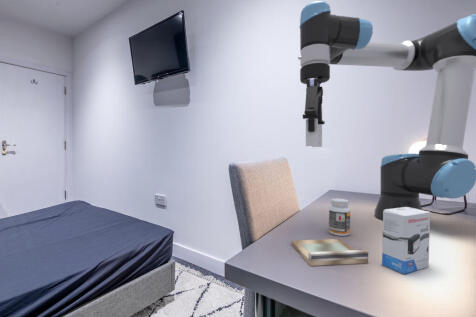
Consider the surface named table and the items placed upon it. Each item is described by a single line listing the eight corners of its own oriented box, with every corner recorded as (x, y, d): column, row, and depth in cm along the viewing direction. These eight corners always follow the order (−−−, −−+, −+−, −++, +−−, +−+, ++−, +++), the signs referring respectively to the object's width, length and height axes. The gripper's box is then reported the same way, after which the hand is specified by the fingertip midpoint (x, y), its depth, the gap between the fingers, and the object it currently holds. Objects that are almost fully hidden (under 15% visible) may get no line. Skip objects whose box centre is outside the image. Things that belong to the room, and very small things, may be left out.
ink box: (404, 275, 48) (405, 215, 47) (380, 264, 52) (381, 209, 52) (430, 267, 51) (432, 211, 51) (406, 257, 55) (407, 206, 55)
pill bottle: (352, 237, 69) (352, 202, 68) (330, 235, 70) (331, 201, 70) (347, 231, 74) (347, 198, 74) (327, 229, 75) (327, 197, 75)
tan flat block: (338, 242, 65) (338, 233, 65) (368, 263, 53) (368, 251, 52) (291, 244, 63) (291, 234, 63) (310, 266, 51) (310, 254, 51)
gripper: (306, 80, 78) (306, 147, 78) (291, 51, 55) (291, 145, 56) (331, 77, 75) (331, 146, 76) (327, 45, 52) (326, 145, 53)
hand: (314, 146), depth 66 cm, fingers open, 13 cm apart
